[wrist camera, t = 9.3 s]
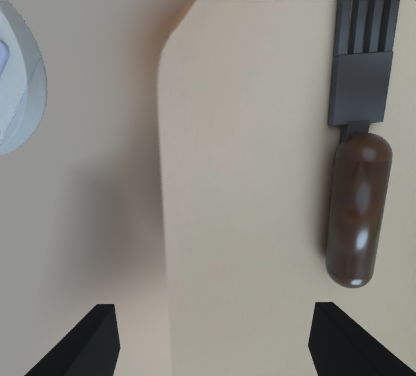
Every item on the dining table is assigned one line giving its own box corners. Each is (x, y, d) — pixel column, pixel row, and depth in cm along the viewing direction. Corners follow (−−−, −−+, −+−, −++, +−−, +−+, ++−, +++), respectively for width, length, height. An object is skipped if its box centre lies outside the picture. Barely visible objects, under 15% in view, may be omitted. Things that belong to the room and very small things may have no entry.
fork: (355, 268, 19) (381, 296, 16) (315, 271, 19) (335, 299, 16) (399, -49, 13) (455, -96, 10) (341, -45, 13) (379, -90, 10)
